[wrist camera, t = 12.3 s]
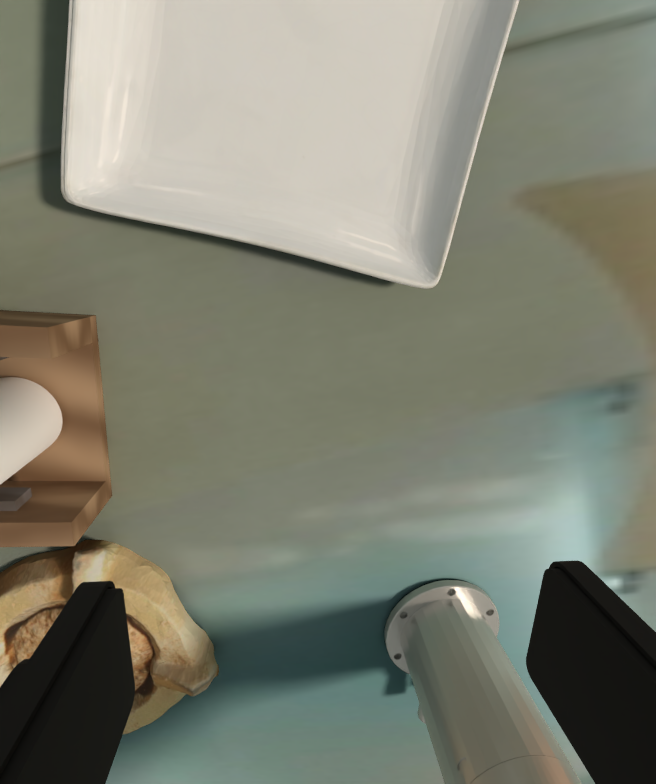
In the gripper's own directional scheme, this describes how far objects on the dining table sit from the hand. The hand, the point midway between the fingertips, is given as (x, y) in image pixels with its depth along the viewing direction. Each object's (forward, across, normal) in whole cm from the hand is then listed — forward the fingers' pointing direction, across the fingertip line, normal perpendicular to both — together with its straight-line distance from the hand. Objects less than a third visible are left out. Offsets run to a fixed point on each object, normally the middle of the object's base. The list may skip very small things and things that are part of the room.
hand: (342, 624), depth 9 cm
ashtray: (+28, +20, +28) cm, 44 cm away
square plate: (+28, 0, -22) cm, 35 cm away
